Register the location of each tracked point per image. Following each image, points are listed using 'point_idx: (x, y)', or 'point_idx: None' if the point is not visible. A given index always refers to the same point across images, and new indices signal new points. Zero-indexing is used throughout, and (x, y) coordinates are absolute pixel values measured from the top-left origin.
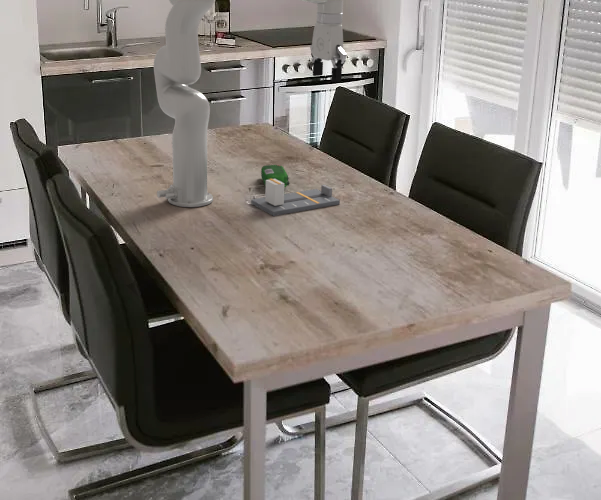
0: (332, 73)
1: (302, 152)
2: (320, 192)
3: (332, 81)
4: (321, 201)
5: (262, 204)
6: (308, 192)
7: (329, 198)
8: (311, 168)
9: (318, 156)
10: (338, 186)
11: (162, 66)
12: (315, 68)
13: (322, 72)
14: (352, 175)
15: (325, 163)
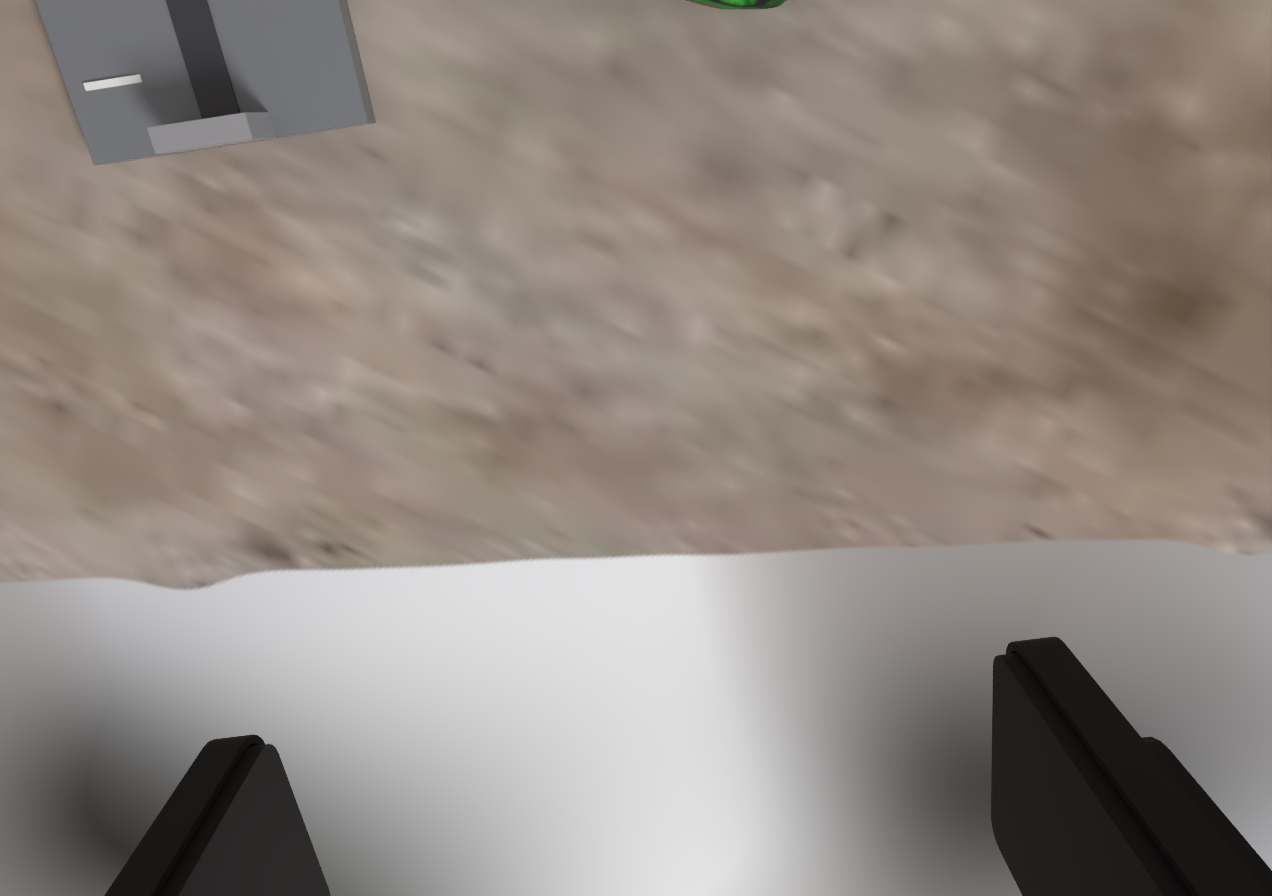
0: (110, 888)
1: (1250, 443)
2: (279, 112)
3: (226, 739)
4: (79, 23)
5: None
6: (297, 25)
7: (140, 113)
8: (893, 338)
9: (1113, 498)
10: (471, 328)
11: None
12: (1078, 800)
13: (1018, 879)
14: (657, 508)
15: (953, 471)
